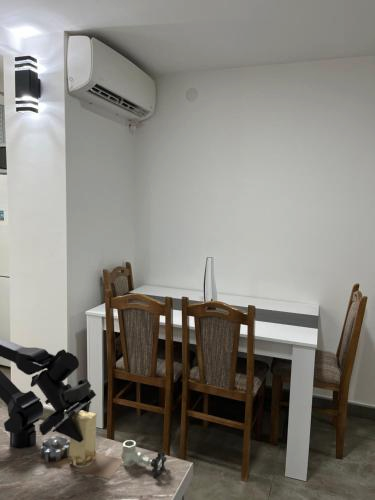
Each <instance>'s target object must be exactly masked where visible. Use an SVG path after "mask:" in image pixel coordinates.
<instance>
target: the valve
mask: <svg viewBox="0 0 375 500" xmlns="http://www.w3.org/2000/svg"><path fill="white" fill-rule="evenodd" d="M136 444H137V442H136V441H135V440H132V439H129V440H128V439H127V440H125V441H123V447H122V451H121V459H122V460H123V463H122V466H124V467H127V468H130V467H132V466H135V465H141V464H144V465H146V466H149V465H150V467H151V468H152V469H151V473H152V474H153V475H152V478H153V479H155V480H157V479H158V477H159V475H161V473H162V472H163V471H164V470H165V469H166V466H165V463H166V462H167V459H168V458H167V457H166V455H167V454H166V451H161V452H159V451H158V452H157V455H156V457H155V458H153V459H152V458H151V457H148V456H144V453H143V452H142V451H138V452H137V450H136V446H137V445H136Z"/></svg>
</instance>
